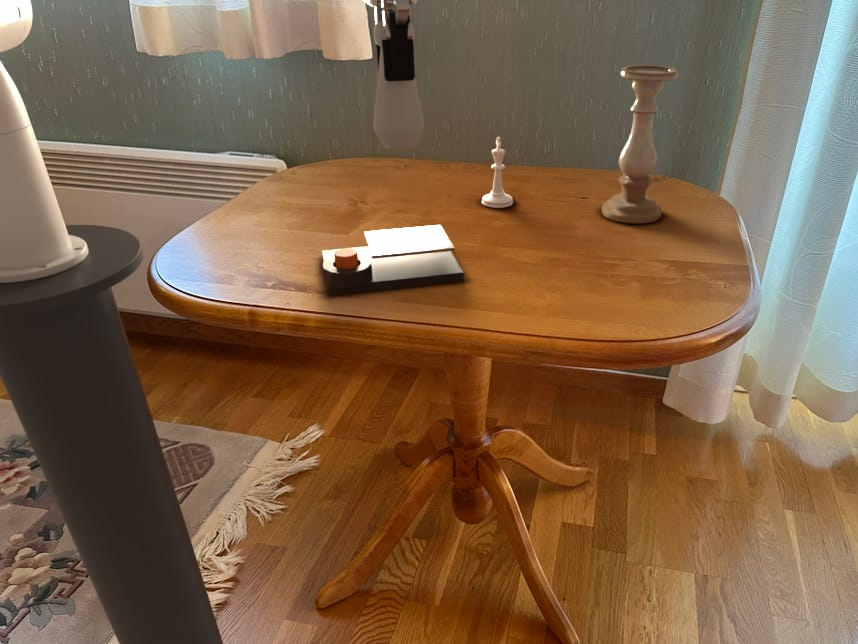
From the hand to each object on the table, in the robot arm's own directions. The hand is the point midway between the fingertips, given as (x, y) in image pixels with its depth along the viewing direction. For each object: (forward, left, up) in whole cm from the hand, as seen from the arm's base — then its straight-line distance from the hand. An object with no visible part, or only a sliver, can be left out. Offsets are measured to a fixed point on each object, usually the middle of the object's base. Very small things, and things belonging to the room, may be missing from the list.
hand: (395, 74), depth 74 cm
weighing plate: (0, -1, -19) cm, 19 cm away
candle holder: (+36, +9, -23) cm, 43 cm away
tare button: (-8, -5, -20) cm, 22 cm away
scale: (-2, -2, -22) cm, 23 cm away
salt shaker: (0, 0, -8) cm, 8 cm away
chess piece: (+18, +19, -23) cm, 35 cm away
